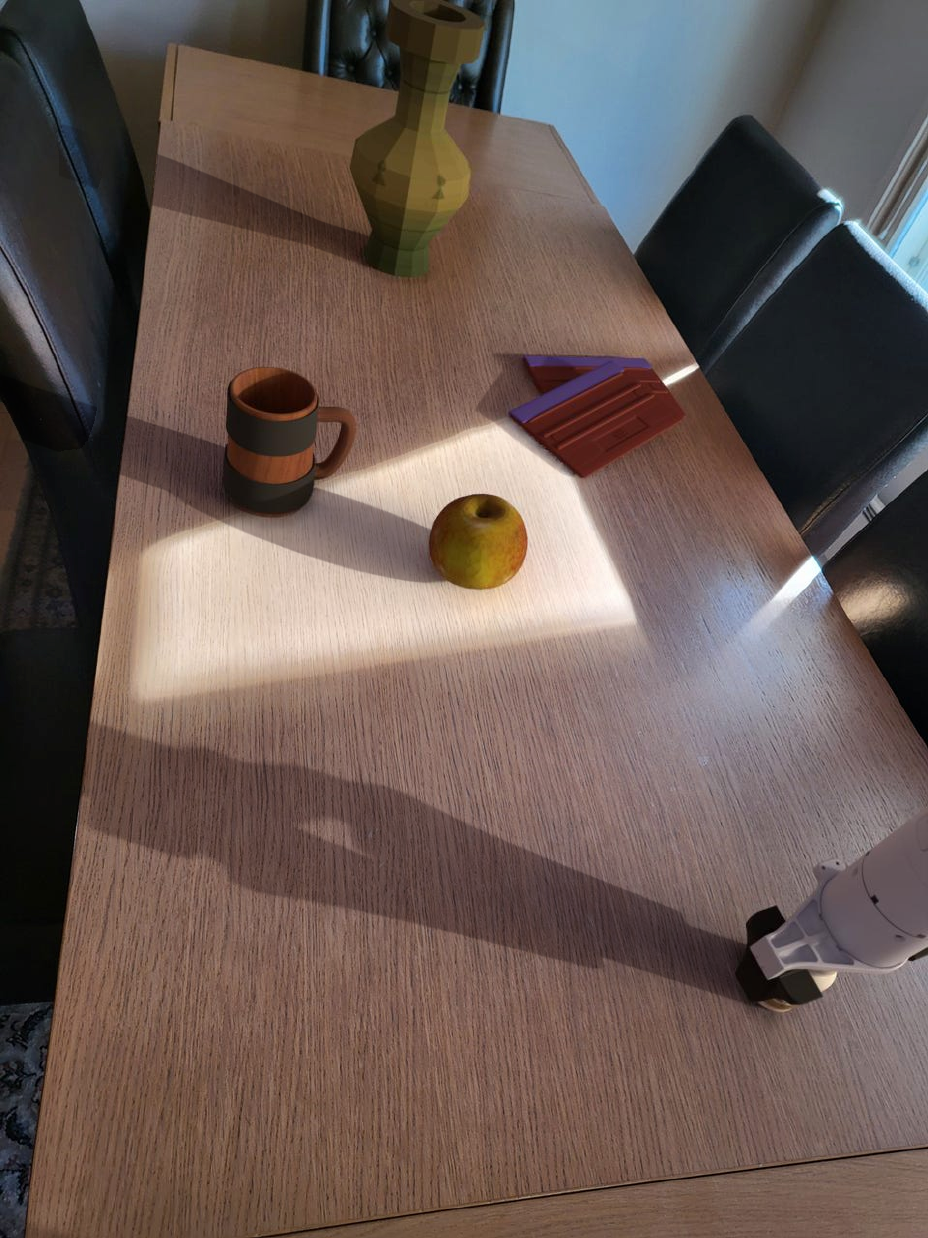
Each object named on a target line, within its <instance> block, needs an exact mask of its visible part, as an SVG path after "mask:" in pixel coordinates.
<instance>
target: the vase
mask: <svg viewBox="0 0 928 1238" xmlns="http://www.w3.org/2000/svg"><path fill="white" fill-rule="evenodd" d="M485 30H486V23H485V22H484V20H483V19H482V17H480V15H478V14H476V13H474V12H472V11H470V10H469V9H467V8H465V7H463V6H461V5H458V4H455V3H453V2H449V1H446V0H388V6H387V14H386V23H385V30H384V33H385V36H386V37H387V39H388V41H389V42H390V43H393V45H395V46H397V47H398V52H399V66H400V67H399V69H400V81H399V88H398V95H397V102H396V108H395V113H394V115H393V116H392V117H389V118H388V119H386V120H384V121H382V122H380V123H378V124H377V125H375V126H373V127H371V128H369V129H367V130H366V131H364V132H363V133H361V135H360V136H358V137H357V138H356V139H355V140H354V146H353V148H352V153H351V158H350V163H349V172H350V174H351V177H352V180H353V183H354V186H355V188H356V190H357V193H358V197H359V198H360V199H359V200H360V201H361V204H362V207H363V210H364V213H365V215H366V218H367V220H368V223H369V225H370V228H371V232H370V234H369V237H368V240H367V241H366V245H365V247H364V250H363V253H362V254H363V256H364V259H365V261H366V263H368V264H369V265H370V266H372V267H373V268H375V269H376V270H377V271H379V272H382V273H384V274H385V273H386V274H388V275H391V276H393V277H402V278H403V277H404V278H416V277H418V276H422V275H425V274H426V273H427V271H428V270H429V269H430V250H429V249H430V247H429V245H430V244H429V243H431V241H432V240H433V239H434V238H435V237H436V235H438V233H439V232H440V231H442V229H443V228H444V227H445V225H446V224H448V222H449V221H450V220H451V219H452V217H454V215H455V214H456V213H457V212H458V211H459V209H460V208H461V207H462V206H463V204H464V203H465V202H466V201H467V199H468V198H469V193H470V185H471V177H472V170H473V169H472V167H471V164H470V163H469V161H468V159H467V158H466V155H464V153H463V152H462V150H461V149H460V147H458V145H457V143H456V142H455V141H454V139H453V138H452V137H451V136H450V134H449V133H448V132H447V130H446V129H445V123H446V117H447V112H448V108H449V107H448V106H449V101H450V95H451V90H452V87H453V86H454V83H455V81H456V78H457V76H458V74H459V72H460V69H461V67H462V65H463V64H473V63H474V62H476V61H477V60H478V59H479V58H480V54H481V49H482V44H483V39H484V34H485Z"/></svg>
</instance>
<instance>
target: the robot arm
mask: <svg viewBox="0 0 928 1238" xmlns="http://www.w3.org/2000/svg"><path fill="white" fill-rule="evenodd" d="M812 873H813V875H814V877H815V879H816V880H817V886H816V888H815V889H814V890H812V892H811V893H810V894H809V895H808V896H807V897H806V899H804V901H803V902H802V903H801V904H800V905H799V906H798V907H797V908H796V909H795V910H794V911H793V913H792V914H791V915H790V916H789V917H788V918H787V919H785V917H784V915H783V913H782V912H781V911H780V908H779V907H778V905H773V906H770V907H767V908H764V909H761V910H758V911H756V912H755V913H754V914H752V915H751V916H750V917H749V918H748V919H747V921H746V922H745V930H746V947H745V950H744V953H743V955H742V957H741V959H740V961H739V963H738V965H737V967H736V969H735V972H734V976H735V979H737V982H738V984H739V985H740V988H741V990H742V991H743V993H744V994H745V997H746V999H747V1001H748V1002H750V1003H758V1002H762V1001H766V1000H770V999H781V1000H784V1001H786V1002H787V1003H789V1004H790V1005H797V1006H803V1005H806V1004H809V1003H811V1002H814V1001H816V1000H819V999H821V998H823V997H824V995H823V993H822V992H821V991H820V989H819V988H818V986H817V984H816V983H815V981H814V979H813V977H812V976H811V974H810V972H809V970H808V969H810V970H823V971H835V972H837V973H849V974H860V975H861V974H863V975H876V976H880V975H886V974H890V973H892V972H895V970H897V969H899V968H900V967H902V966H903V965H904V964H905V963H907V961H908V962H914V961H917V960H920V959H922V958H925V957H927V956H928V805H926V807H924V808H923V809H922V810H920V811H918V812H917V813H916V814H914V815H913V816H912V817H911V818H910V819H908V820H907V821H906V822H904V823H903V824H902V825H900V826H899V827H898V828H897V829H895V830H894V831H892V832H891V833H890V834H888V835H887V836H886V837H885V838H883V839H882V840H881V841H879V842H878V843H877V844H875V846H873V847H872V848H870V850H868V851H866V852H865V853H864V854H862V855H861V856H860V857H859V858H858V859H856V860H855V861H854V862H853V863H851V864H850V865H848V866H847V867H846V865H845V864H844V863H843V861H841V860H840V859H839V858H836V857H831V858H829V859H825V860H823V861H820V862H818V863H817V864H816V865H814V866H813V867H812Z"/></svg>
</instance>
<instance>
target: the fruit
mask: <svg viewBox="0 0 928 1238" xmlns="http://www.w3.org/2000/svg"><path fill="white" fill-rule="evenodd" d="M528 541H529V540H528V532H527V528H526V525H525V522H524V519H523V517H522V515H521V514H520V512H519V511H518V510H517V508H516V507H515V506H513V504H512V503H510V502H509V501H508V500H506V499H504V498H502V497H500V496H498V495H494V494H491V493H490V494H489V493H473V494H468V495H465V496H461V497H458V498H455V499H453V500H452V501H450V502H448V503H447V504H446V505H445V506H443V508H442V509H441V510H440V512H439V513H438V514H437V515H436V517H435V519H434V521H433V523H432V525H431V529H430V532H429V537H428V554H429V558H430V561H431V563H432V566H433V568H434V569H435V570H436V572H437V573H439V575H440V576H441V577H443V578H444V580H446V581H447V582H449V583H451V584H452V585H455V586H457V587H459V588H462V589H467V590H477V591H481V590H482V591H483V590H490V589H491V590H492V589H496V588H499V587H501V586H503V585H506V584H507V583H508V582H509V581H511V580H512V579H513V578H514V577H516V575H517V574H518V572H519V571H520V570H521V568H522V567H523V564H524V562H525V559H526V556H527V553H528V552H527V551H528V546H529V544H528V543H529V542H528Z"/></svg>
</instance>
